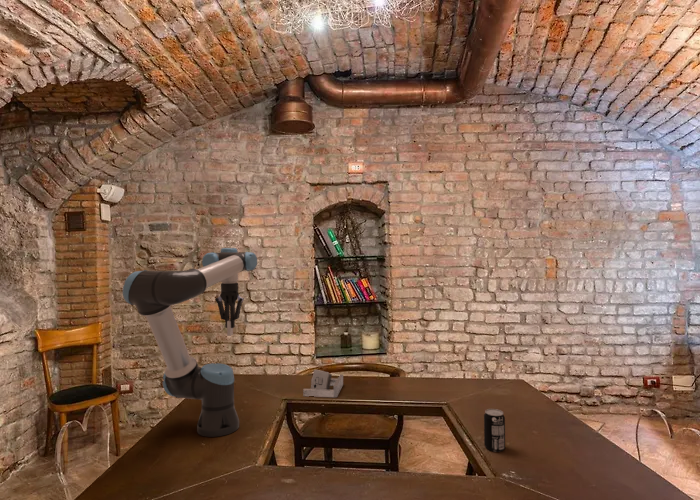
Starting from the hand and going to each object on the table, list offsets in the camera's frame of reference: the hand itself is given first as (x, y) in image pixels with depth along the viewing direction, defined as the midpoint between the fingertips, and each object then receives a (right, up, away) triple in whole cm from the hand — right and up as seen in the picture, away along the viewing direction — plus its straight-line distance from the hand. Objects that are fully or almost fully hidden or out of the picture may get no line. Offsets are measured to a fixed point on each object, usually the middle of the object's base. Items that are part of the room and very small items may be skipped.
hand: (230, 335), depth 195 cm
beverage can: (+102, -28, -50) cm, 117 cm away
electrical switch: (+40, -28, +11) cm, 50 cm away
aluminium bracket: (+41, -28, +11) cm, 51 cm away
